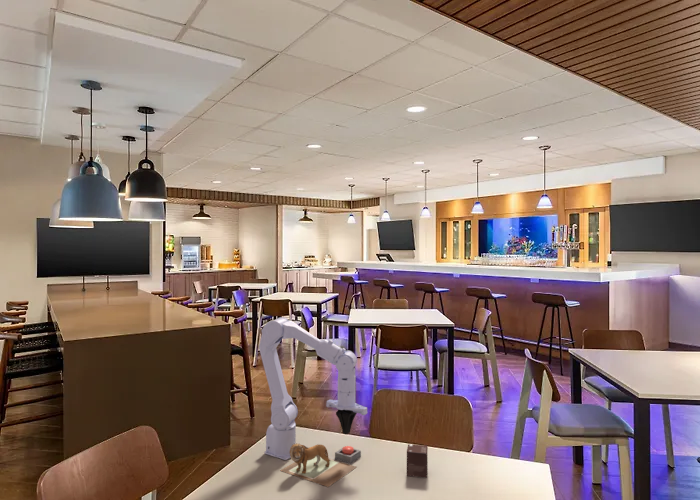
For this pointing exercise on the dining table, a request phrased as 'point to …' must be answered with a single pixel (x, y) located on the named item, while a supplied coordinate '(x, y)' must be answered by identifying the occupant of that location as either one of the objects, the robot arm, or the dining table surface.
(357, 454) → the button housing
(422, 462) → the box
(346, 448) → the button
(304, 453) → the lion figurine
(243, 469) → the dining table surface
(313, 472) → the picture sheet
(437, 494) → the dining table surface
